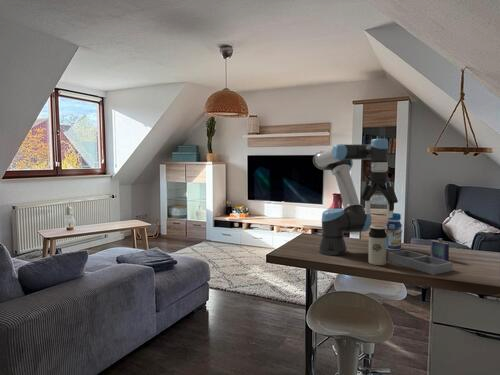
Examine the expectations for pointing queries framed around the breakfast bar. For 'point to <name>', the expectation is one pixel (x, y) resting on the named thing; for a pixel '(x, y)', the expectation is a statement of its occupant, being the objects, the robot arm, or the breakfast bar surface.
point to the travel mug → (377, 245)
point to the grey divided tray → (420, 262)
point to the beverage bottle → (394, 232)
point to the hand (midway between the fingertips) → (378, 215)
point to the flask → (440, 249)
